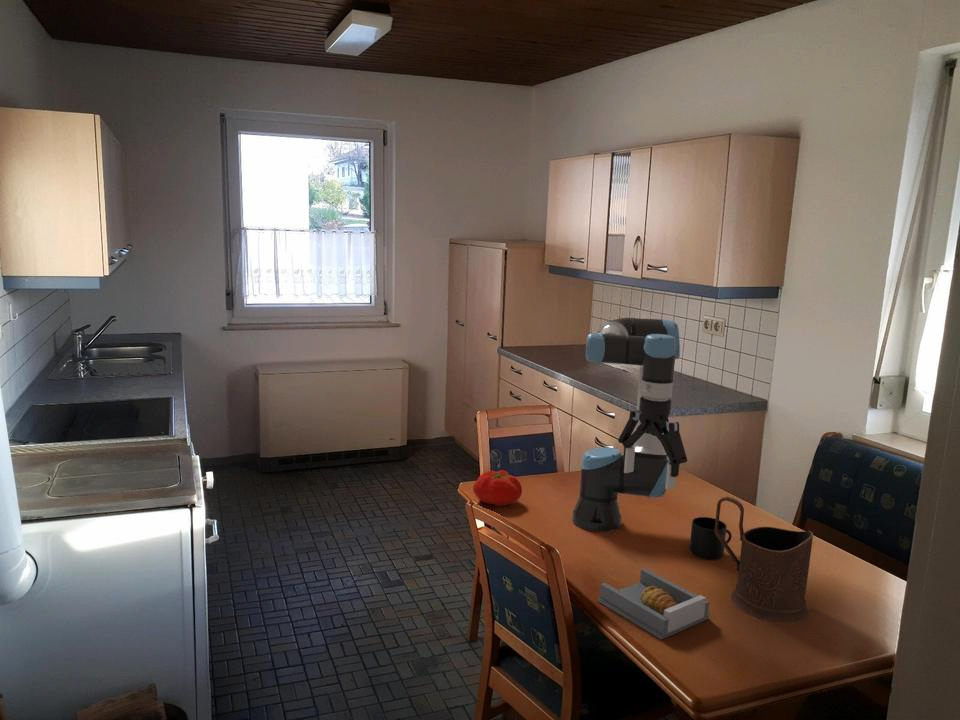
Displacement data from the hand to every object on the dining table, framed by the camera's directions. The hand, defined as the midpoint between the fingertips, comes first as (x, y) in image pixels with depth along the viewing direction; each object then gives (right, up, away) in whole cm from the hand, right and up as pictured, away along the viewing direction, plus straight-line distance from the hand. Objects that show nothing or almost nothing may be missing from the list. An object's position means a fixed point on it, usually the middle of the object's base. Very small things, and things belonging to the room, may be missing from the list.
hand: (648, 480), depth 185 cm
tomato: (-37, -17, +59) cm, 71 cm away
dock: (-1, -30, -7) cm, 31 cm away
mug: (+24, -25, +27) cm, 44 cm away
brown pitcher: (+27, -31, 0) cm, 41 cm away
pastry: (+1, -30, -7) cm, 30 cm away
